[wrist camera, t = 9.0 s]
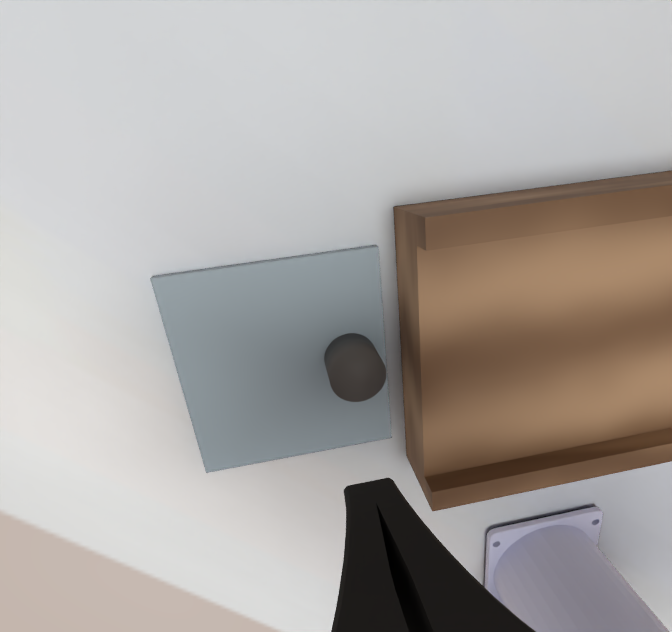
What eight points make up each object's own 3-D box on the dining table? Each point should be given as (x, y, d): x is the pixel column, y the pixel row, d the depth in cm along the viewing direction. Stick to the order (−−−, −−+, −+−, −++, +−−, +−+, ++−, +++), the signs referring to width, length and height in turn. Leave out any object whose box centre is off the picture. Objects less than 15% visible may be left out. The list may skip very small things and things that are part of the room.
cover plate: (386, 426, 23) (402, 462, 20) (209, 459, 22) (200, 502, 19) (373, 242, 19) (390, 256, 16) (156, 272, 18) (135, 292, 15)
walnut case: (657, 407, 25) (725, 449, 21) (406, 455, 23) (432, 511, 19) (711, 165, 20) (814, 165, 16) (393, 206, 18) (424, 217, 14)
